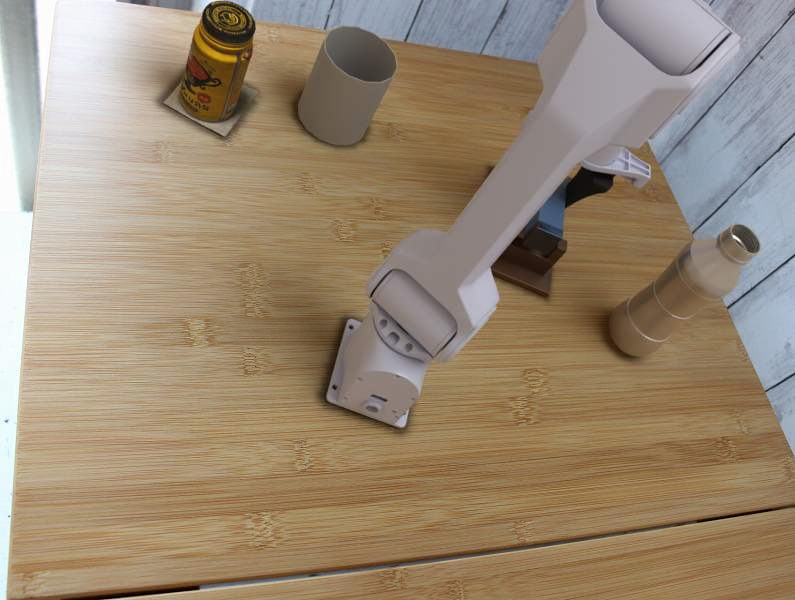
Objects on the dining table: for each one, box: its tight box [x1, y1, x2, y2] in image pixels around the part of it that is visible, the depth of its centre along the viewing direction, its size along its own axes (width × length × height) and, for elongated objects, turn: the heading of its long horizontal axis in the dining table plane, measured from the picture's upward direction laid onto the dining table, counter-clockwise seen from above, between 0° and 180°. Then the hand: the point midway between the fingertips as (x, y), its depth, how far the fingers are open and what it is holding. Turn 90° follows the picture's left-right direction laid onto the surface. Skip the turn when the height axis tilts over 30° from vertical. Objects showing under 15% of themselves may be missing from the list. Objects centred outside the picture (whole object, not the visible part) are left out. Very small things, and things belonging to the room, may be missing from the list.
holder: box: [490, 166, 573, 298], centre depth 96 cm, size 16×9×6 cm, turn 169°
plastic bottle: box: [608, 222, 762, 358], centre depth 88 cm, size 6×7×20 cm
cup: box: [297, 25, 399, 146], centre depth 93 cm, size 8×8×10 cm
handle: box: [523, 175, 569, 255], centre depth 93 cm, size 14×3×3 cm, turn 169°
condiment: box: [162, 0, 259, 138], centre depth 87 cm, size 7×8×12 cm
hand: (546, 197), depth 94 cm, fingers closed on handle, 3 cm apart
